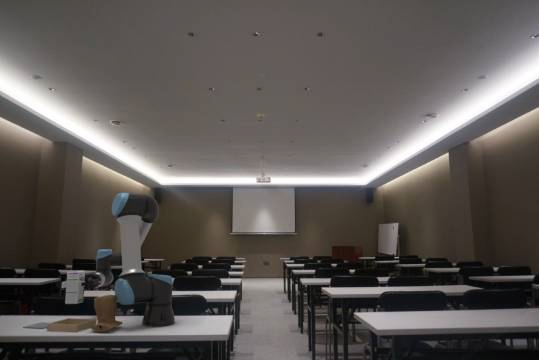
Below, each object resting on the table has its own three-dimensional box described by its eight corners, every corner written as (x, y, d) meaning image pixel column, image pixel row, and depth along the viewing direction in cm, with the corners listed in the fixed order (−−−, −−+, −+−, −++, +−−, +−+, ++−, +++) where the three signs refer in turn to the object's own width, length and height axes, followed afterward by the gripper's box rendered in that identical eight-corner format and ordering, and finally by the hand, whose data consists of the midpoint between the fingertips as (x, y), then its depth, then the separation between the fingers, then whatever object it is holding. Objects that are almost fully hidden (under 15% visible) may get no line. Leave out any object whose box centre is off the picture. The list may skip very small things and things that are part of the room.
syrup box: (77, 303, 171) (79, 271, 174) (64, 303, 171) (67, 271, 174) (83, 302, 177) (86, 270, 179) (71, 302, 177) (73, 270, 179)
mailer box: (112, 320, 190) (112, 314, 190) (76, 332, 164) (77, 324, 165) (85, 319, 192) (86, 313, 193) (46, 330, 167) (47, 323, 168)
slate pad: (61, 323, 182) (61, 323, 182) (43, 328, 171) (43, 327, 171) (41, 323, 184) (41, 322, 184) (22, 327, 173) (22, 327, 173)
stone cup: (100, 326, 177) (102, 293, 179) (125, 325, 176) (126, 292, 179) (83, 333, 162) (85, 297, 164) (110, 332, 161) (111, 296, 164)
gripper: (111, 288, 192) (89, 293, 170) (75, 288, 193) (48, 293, 170) (112, 272, 194) (90, 276, 171) (76, 273, 194) (49, 276, 171)
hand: (69, 285), depth 170 cm, fingers closed on syrup box, 6 cm apart
